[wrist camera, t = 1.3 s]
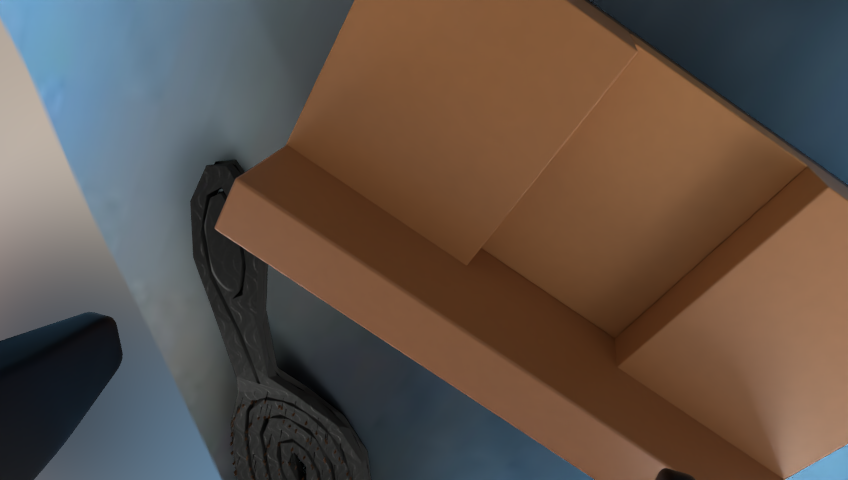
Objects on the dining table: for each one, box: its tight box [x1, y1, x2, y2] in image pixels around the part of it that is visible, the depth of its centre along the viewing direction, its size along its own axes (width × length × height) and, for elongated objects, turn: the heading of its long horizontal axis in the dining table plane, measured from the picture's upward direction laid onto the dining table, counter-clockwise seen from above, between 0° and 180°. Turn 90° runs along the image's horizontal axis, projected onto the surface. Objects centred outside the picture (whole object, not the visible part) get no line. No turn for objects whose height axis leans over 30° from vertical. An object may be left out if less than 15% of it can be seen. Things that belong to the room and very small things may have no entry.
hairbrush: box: [190, 160, 371, 480], centre depth 28 cm, size 8×4×25 cm
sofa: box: [215, 0, 848, 480], centre depth 17 cm, size 20×10×8 cm, turn 59°
